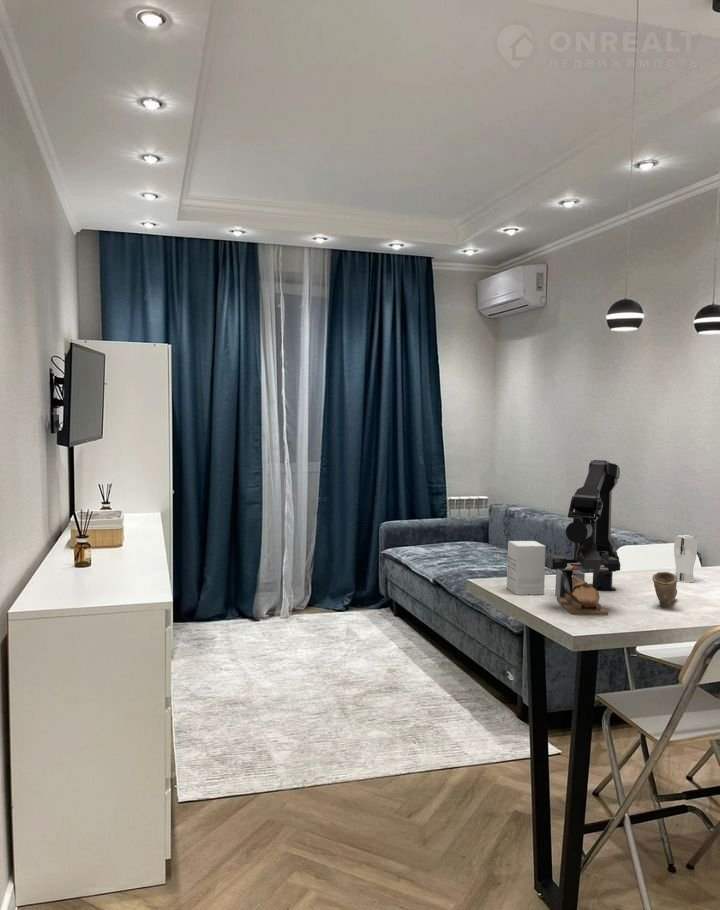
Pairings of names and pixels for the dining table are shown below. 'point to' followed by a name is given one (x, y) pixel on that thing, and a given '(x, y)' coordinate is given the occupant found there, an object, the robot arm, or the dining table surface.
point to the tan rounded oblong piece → (584, 592)
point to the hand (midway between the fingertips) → (582, 593)
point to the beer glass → (685, 557)
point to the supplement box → (526, 567)
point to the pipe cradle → (580, 606)
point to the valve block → (562, 583)
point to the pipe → (665, 587)
